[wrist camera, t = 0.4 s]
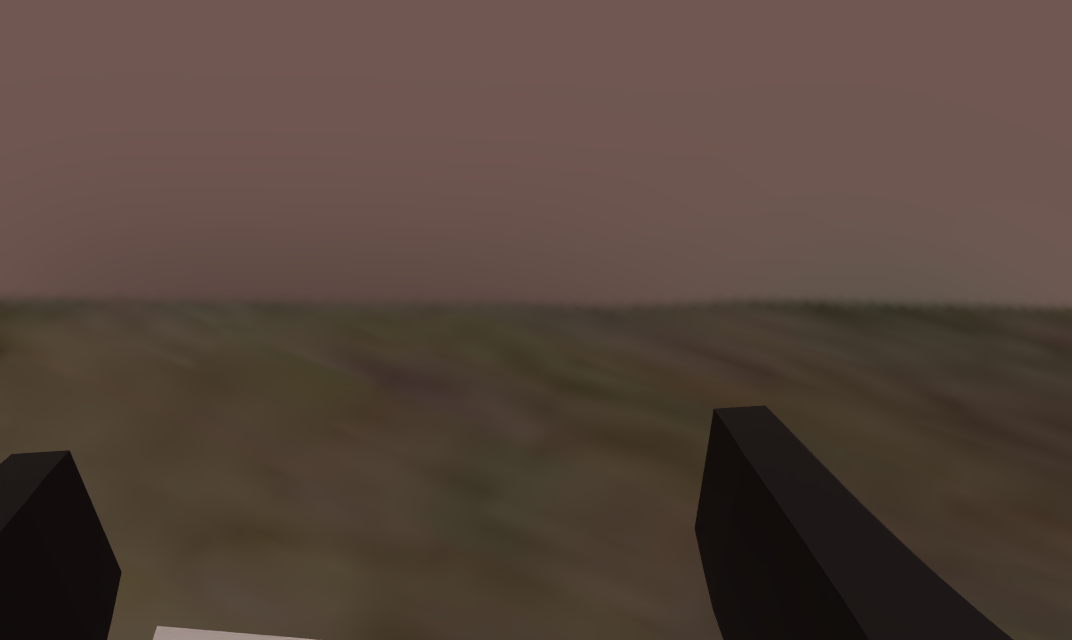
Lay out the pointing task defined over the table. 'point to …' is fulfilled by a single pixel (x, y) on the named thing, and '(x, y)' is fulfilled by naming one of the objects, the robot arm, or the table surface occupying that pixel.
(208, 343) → the table surface
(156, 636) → the stand
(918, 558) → the robot arm
